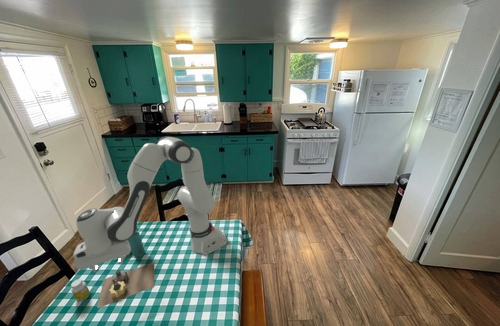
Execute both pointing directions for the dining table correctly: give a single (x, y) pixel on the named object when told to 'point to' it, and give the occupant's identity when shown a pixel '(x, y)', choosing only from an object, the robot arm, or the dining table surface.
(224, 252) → the dining table surface
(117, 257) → the robot arm
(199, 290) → the dining table surface
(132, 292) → the gear board
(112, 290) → the loose gear
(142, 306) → the dining table surface
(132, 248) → the beverage bottle
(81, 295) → the supplement bottle
